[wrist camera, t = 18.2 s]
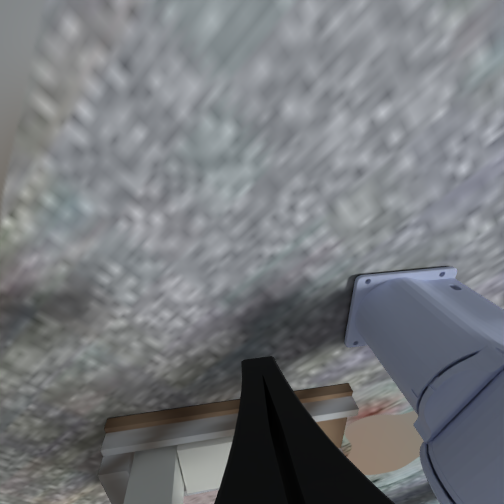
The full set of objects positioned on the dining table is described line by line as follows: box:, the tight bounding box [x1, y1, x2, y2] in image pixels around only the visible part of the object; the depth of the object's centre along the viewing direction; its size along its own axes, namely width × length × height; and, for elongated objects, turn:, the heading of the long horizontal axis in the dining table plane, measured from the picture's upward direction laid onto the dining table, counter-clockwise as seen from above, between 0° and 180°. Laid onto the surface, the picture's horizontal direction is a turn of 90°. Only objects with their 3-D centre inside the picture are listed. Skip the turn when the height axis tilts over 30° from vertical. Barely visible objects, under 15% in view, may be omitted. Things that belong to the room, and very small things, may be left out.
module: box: [123, 445, 185, 504], centre depth 26 cm, size 4×6×6 cm, turn 1°
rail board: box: [97, 383, 359, 504], centre depth 29 cm, size 25×12×4 cm, turn 91°
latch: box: [177, 435, 234, 494], centre depth 28 cm, size 10×8×4 cm
